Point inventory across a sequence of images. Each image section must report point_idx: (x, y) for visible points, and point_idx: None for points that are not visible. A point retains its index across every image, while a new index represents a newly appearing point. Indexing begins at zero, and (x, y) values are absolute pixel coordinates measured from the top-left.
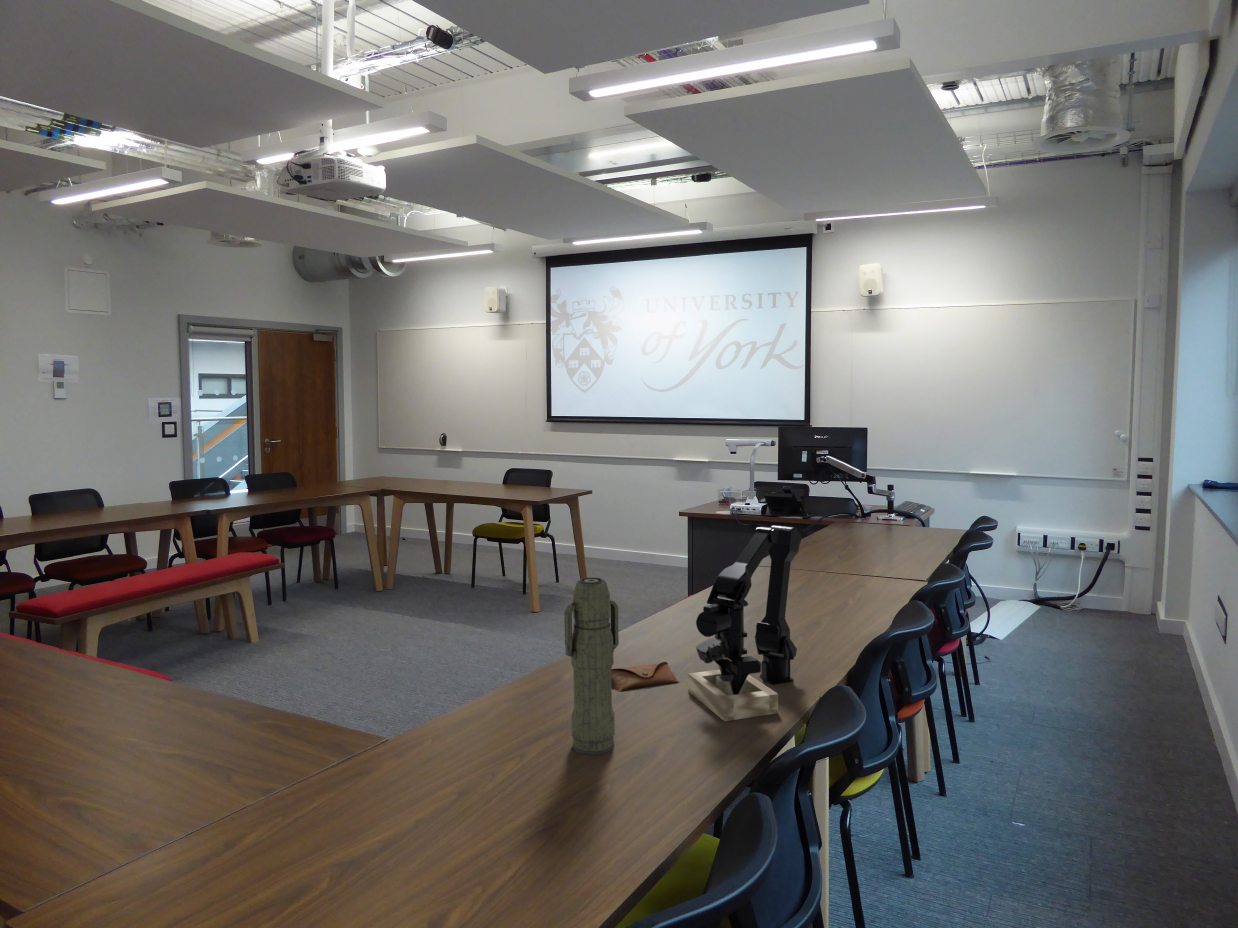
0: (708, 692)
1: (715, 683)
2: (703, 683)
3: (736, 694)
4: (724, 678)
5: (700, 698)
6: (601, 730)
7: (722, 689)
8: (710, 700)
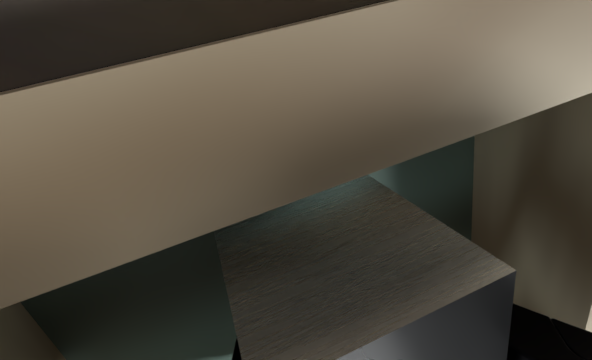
0: (168, 54)
1: (523, 189)
2: (452, 27)
3: None
4: None
5: (355, 8)
6: None
7: (264, 269)
8: (104, 68)
